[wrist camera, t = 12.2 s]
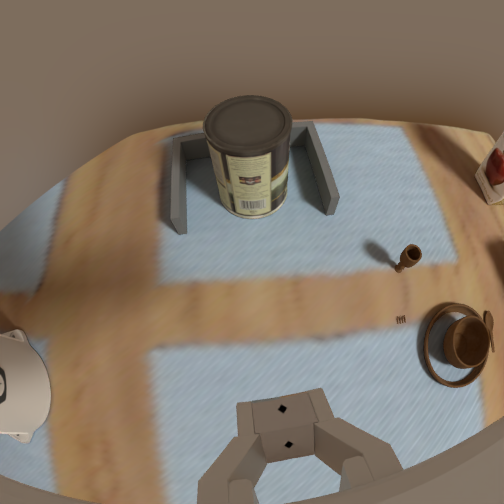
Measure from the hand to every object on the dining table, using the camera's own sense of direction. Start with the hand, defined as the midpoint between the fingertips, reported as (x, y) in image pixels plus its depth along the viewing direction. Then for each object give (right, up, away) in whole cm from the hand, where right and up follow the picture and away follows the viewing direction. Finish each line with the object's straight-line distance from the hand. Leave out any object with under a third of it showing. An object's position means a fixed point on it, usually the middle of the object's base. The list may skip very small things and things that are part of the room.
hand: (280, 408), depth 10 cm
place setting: (+27, -4, +27) cm, 38 cm away
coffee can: (-1, +15, +36) cm, 39 cm away
